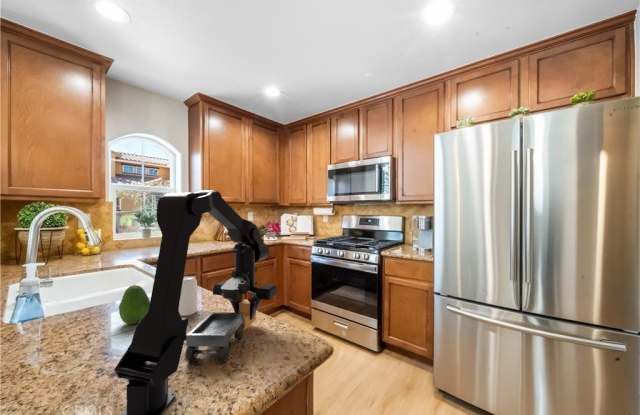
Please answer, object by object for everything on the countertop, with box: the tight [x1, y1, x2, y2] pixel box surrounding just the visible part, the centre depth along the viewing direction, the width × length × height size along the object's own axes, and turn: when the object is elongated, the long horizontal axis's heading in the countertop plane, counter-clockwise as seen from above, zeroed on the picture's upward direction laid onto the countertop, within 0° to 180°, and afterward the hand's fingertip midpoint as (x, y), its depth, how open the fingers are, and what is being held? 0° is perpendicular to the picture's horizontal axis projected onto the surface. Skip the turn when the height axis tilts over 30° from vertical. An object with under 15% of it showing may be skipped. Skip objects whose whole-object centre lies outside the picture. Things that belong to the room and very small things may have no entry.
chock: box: [239, 299, 257, 330], centre depth 77 cm, size 6×4×6 cm, turn 164°
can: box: [179, 275, 198, 317], centre depth 89 cm, size 6×6×12 cm
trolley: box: [184, 311, 244, 363], centre depth 66 cm, size 14×9×7 cm, turn 179°
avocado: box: [118, 284, 151, 325], centre depth 81 cm, size 8×8×12 cm
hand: (245, 318), depth 77 cm, fingers closed on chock, 4 cm apart
